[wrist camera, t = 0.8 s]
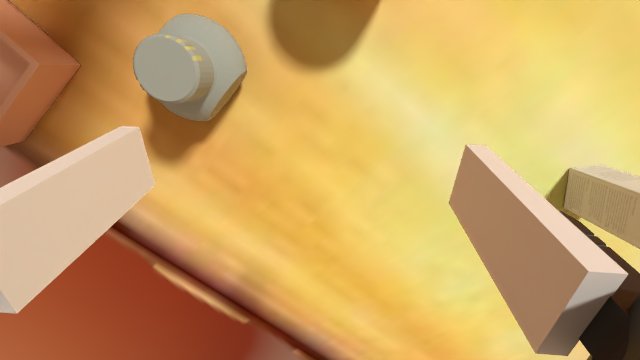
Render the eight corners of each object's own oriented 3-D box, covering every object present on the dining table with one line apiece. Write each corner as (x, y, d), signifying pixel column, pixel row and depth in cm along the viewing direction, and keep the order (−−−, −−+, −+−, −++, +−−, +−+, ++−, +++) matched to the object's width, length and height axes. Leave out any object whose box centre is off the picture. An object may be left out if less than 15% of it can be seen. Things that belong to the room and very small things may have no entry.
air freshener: (202, 5, 33) (156, -22, 24) (261, 58, 35) (240, 52, 26) (152, 83, 36) (92, 86, 27) (209, 128, 38) (172, 146, 28)
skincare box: (593, 204, 41) (696, 253, 30) (562, 207, 41) (652, 258, 30) (601, 162, 39) (715, 198, 28) (568, 166, 39) (667, 204, 28)
